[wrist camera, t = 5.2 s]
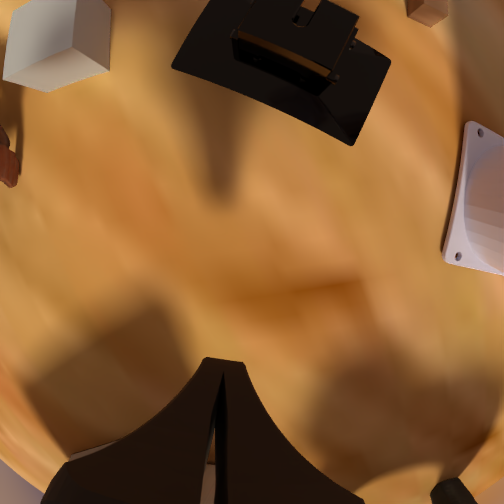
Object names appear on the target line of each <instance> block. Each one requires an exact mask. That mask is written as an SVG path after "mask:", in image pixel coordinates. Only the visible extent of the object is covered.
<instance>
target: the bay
mask: <svg viewBox="0 0 504 504" xmlns="http://www.w3.org/2000/svg"><path fill="white" fill-rule="evenodd" d="M447 16H448V5H447V0H408V17H409V18H411V19H413V20H416V21H418V22H420V23H422V24H424V25H426V26H429V27H432V26H433V25H435V24H436V23H438V22H439V21H441V20H442V19H444V18H445V17H447Z"/></svg>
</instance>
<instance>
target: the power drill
mask: <svg viewBox="0 0 504 504" xmlns="http://www.w3.org/2000/svg"><path fill="white" fill-rule="evenodd" d="M430 497H431V501H432V504H478V503H477V502H476V501H475V499H474V497H473V496H472V494H471V493H470V492H469V491H468V489H467V488H466V487H465V486H464V484H463V483H462V482H461V480H460V479H459V478H453V479H449V480H446V481H443V482H441V483H439V484H438V485H437V486H436V488H435V489H434V490H432V492H431V493H430Z"/></svg>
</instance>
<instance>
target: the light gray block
mask: <svg viewBox="0 0 504 504" xmlns="http://www.w3.org/2000/svg"><path fill="white" fill-rule="evenodd" d="M110 24H111V9H110V8H109V7H108V6H107V4H106V3H105V2H104V1H103V0H32V1H30V2H28V3H26V4H25V5H23V6H21V7H19V8H18V9H16V10H14V11H13V13H12V18H11V23H10V28H9V34H8V40H7V46H6V54H5V62H4V71H3V80H6V81H9V82H13V83H16V84H20V85H23V86H26V87H30V88H33V89H36V90H40V91H43V92H46V93H48V92H50V91H53V90H56V89H58V88H61V87H63V86H66V85H69V84H71V83H74V82H77V81H80V80H83V79H86V78H89V77H92V76H95V75H98V74H102V73H105V72H108V71H110Z"/></svg>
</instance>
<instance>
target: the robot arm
mask: <svg viewBox="0 0 504 504" xmlns="http://www.w3.org/2000/svg"><path fill="white" fill-rule="evenodd" d="M477 131H479V134H480V135H479V136H478V132H477ZM457 252H458V256H457V258H456V259H455V255H456V253H457ZM442 259H443V260H444V261H445V262H447V263H449V264H453V265H458V266H462V267H467V268H472V269H476V270H481V271H485V272H490V273H494V274H499V275H503V276H504V138H503V137H502V136H500V135H498V134H496V133H495V132H493V131H491V130H489V129H488V128H486V127H484V126H482V125H480V124H478V123H477V122H475V121H469V122H467V123H466V124H465V128H464V138H463V147H462V155H461V163H460V170H459V176H458V182H457V188H456V193H455V199H454V204H453V209H452V214H451V218H450V223H449V227H448V231H447V235H446V239H445V243H444V247H443V251H442ZM214 430H215V496H214V504H365V503H364V500H363V499H361V498H360V497H358V496H356V495H355V494H353V493H351V492H349V491H348V490H346V489H344V488H343V487H341V486H339V485H338V484H336V483H335V482H333V481H332V480H331V479H329V478H328V477H327V476H325V475H324V474H323V473H321V472H320V471H319V470H317V469H316V468H315V467H314V466H313V465H312V464H311V463H310V462H309V461H307V460H306V459H305V458H304V457H303V456H302V455H301V454H300V453H299V452H298V451H297V450H296V449H295V448H294V447H293V446H292V445H291V443H290V442H289V441H288V440H287V439H286V438H285V436H284V435H283V434H282V433H281V431H280V430H279V429H278V427H277V426H276V425H275V423H274V422H273V420H272V419H271V417H270V416H269V414H268V413H267V411H266V409H265V408H264V406H263V404H262V402H261V401H260V399H259V397H258V395H257V393H256V391H255V389H254V387H253V385H252V382H251V380H250V378H249V375H248V372H247V369H246V366H245V364H244V363H243V362H237V361H230V360H223V359H217V358H210V357H206V358H204V359H203V360H202V362H201V364H200V366H199V368H198V369H197V371H196V372H195V374H194V375H193V376H192V378H191V379H190V380H189V382H188V383H187V384H186V385H185V386H184V388H183V389H182V390H181V391H180V392H179V393H178V394H177V395H176V396H175V397H174V399H173V400H172V401H171V402H170V403H169V404H168V405H167V406H166V407H164V408H163V409H162V410H161V411H160V412H159V413H158V414H157V415H155V416H154V417H153V418H152V419H150V420H149V421H148V422H146V423H145V424H144V425H142V426H141V427H139V428H138V429H136V430H135V431H134V432H132V433H130V434H129V435H127V436H125V437H124V438H122V439H120V440H118V441H116V442H114V443H112V444H110V445H109V446H107V447H105V448H103V449H101V450H98V451H96V452H94V453H91V454H88V455H86V456H83V457H80V458H77V459H75V460H72V461H69V462H65V463H64V464H63V466H62V467H61V468H60V470H59V471H58V472H57V474H56V475H55V476H54V478H53V479H52V480H51V482H50V484H49V486H48V488H47V490H46V492H45V494H44V496H43V498H42V500H41V504H200V501H201V493H202V484H203V476H204V472H205V468H206V464H207V459H208V455H209V451H210V447H211V442H212V438H213V434H214Z"/></svg>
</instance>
